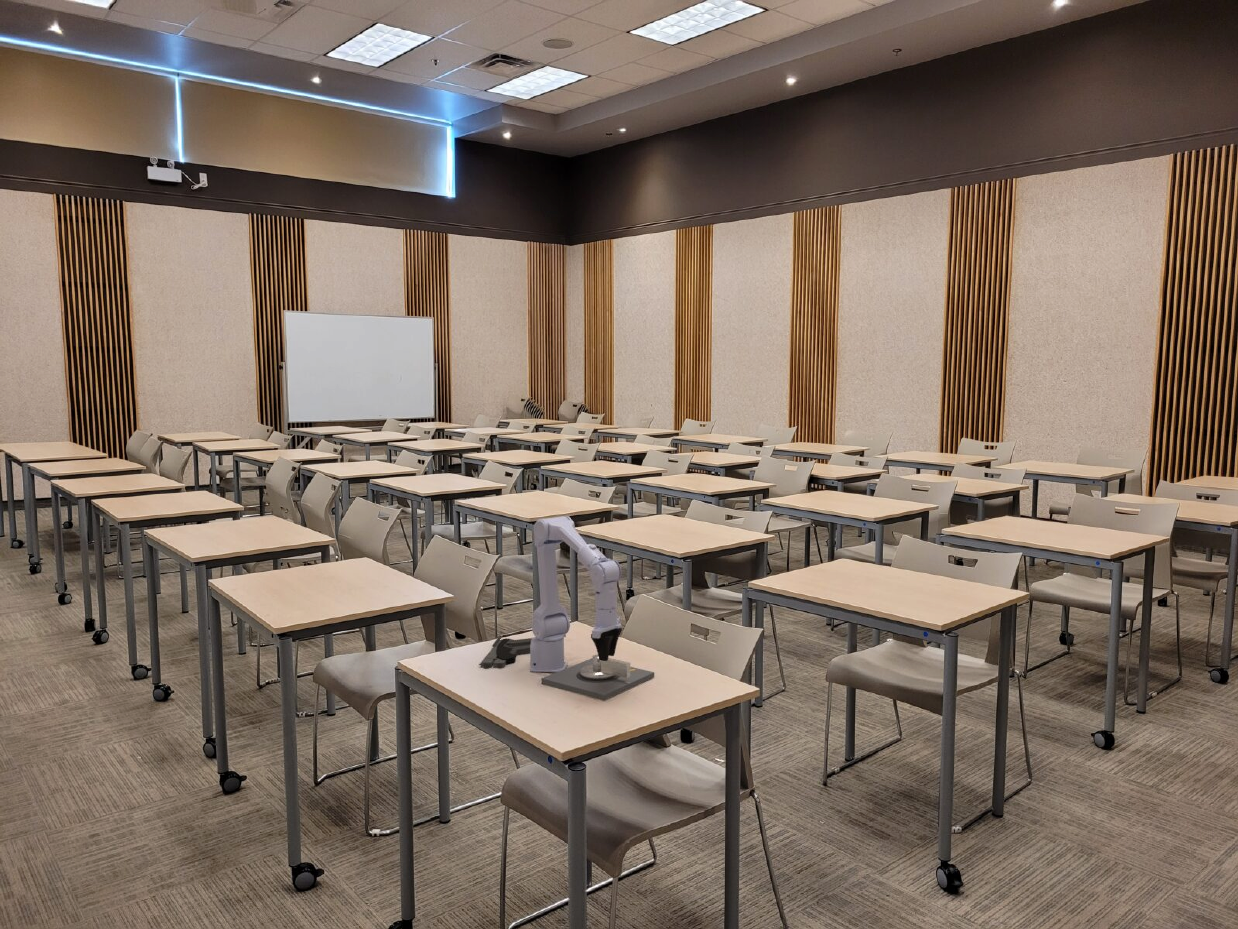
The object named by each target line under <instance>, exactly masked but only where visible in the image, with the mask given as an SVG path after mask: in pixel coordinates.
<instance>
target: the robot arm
mask: <svg viewBox="0 0 1238 929" xmlns="http://www.w3.org/2000/svg"><path fill="white" fill-rule="evenodd" d="M575 527H576V526H575V521H573V519H571V517H570V516H568V515H563V516H555V517H549V518H548V517H547V518H538V519H537V520H536V522H535V523H534V525H533V526H532V528H533V537H534V538H533V540H534V547H536V555H537V567H538V580H539V581H538V582H539V596H540V605H538V607H537V608H536V609H535V610H534V611H533V612H532V622H531V632H532V634H533V636H534V637H531V638H532V640H531V645H530V654H529V658H530V659H529V660H530V662H529V664H530V669H529V672H535V673H537V672H538V673H556V672H558V671H561V670H564V669H566V667H567V666H568V664H569V662H566V661H565V642H564V641H565V638H566V637H567V634H568V633H569V630H570V627H571V622H570V618H569V615H568V609H567V608H566V607H564V606H563V605H562V604H560V597H559V596H560V594H559V593H560V592H559V581H558V569H557V568H558V567H557V552H556V549H557V548H558V547H559V546H560V544H561V543H563V542H564V543H565V544H566V545H568V547H570V548H571V549H572V550H573V551H575V553H577V560H578V562H580V564H582V566H584V567H585V568H586V570H587V571H588V572H589V576H590V580H591V582H592V589H593V591H594V601H595V602H594V603H595V604H594V607H595V608H594V609H595V611H594V612H595V615H594V616H595V618H594V619H595V623H594V626H593V629H592V630H591V634H590V638H591V640H592V641H593V643H594V646H595V648H596V652H597V655H598V656H599V660H600V661H608V658H610V657H614V656H615V654H616V649H617V645H618V640H619V638H620V635H621V633H622V626H623V625H622V623H621V617H620V616H618V582H619V581H620V580H621V578H622V568H621V564H620V563H619V562H618V561H617V559H611V558H607V557H606V556H605V554H603V553H602V552H601V551H600V550H599V548H597V546H596V544H592V543H589V544H587V542H586V541H585V540H584V538H583V537H582V536H581V535H580V533H578V531H577V530H576V528H575Z"/></svg>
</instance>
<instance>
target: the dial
mask: <svg viewBox="0 0 1238 929" xmlns="http://www.w3.org/2000/svg"><path fill="white" fill-rule="evenodd" d="M592 658H593V665H587V666H584V667H582V668H581V669H580V676H581V677H583V678H586V679H590V680H604V679H609V678H612V677H614V676H620V677H624V678H628V677H630V667H631V662H629V661H624V660H620V659H617V658H611V657H608V661H600V660H599V656H598V654H595V655H594V654H593V655H592Z"/></svg>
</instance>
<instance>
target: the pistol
mask: <svg viewBox="0 0 1238 929" xmlns="http://www.w3.org/2000/svg"><path fill="white" fill-rule="evenodd" d="M532 638H533V637H531V638H530V637H529V638H520V639H513V638H512V639H511V638H505V639H503V638H502V637H497V638H496V639H495V641H494V643H493V644H492V646H491V647H492V648H491V649H490V651H489V652H488V653H487V654H486V656H485V657H484V658H483V659H482V660H481V662H480V663H479V664H478V666H480V668H481V669H482V668H483V669H486V670H488V669H492V668H493V669H505V667H506V666H508V665H513V664H514V665H515V662H517V657H518V656H524V655H530V645H531V640H532ZM500 639H501V640H500Z"/></svg>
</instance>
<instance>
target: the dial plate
mask: <svg viewBox="0 0 1238 929" xmlns="http://www.w3.org/2000/svg"><path fill="white" fill-rule="evenodd" d="M587 665H593V657H591V658H589V659H587V660H584V661H581V662H580V663H576V664H574V665H572V666H569V667H567V668H565V669H564V670H561V671H558V672H552V673H551V674H548V675H546V676H544V677H541V679H540V680H541V681H540V682H541V684H542V685H544V686H545V685H546V686H547V687H548V686H549V687H552V688H555V689H556V688H557V689H560V690H563V691H567V692H571V693H575V694H579V695H582V696H586V697H589V698H593V699H597V700H601V701H605V702H606V701H607V700H609V699H611V698H613V697H615V696H618V695H620V694H622V693H625V692H627V691H628V690H631V689H632V688H635V687H637V686H639V685H642V684H643V683H646V682H648V681H650V680H652V679H654V678H655V672H654V671H650V670H646V669H642V668H638V667H634V666H630V677H628V678H624V677H620V676H614V677H612V678H609V679H604V680H590V679H586V678H583V677H581V676H580V669H581V668H582V667H584V666H587Z"/></svg>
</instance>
